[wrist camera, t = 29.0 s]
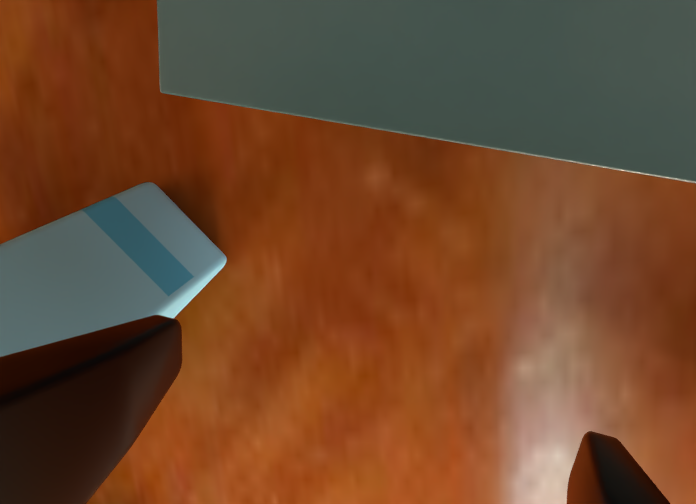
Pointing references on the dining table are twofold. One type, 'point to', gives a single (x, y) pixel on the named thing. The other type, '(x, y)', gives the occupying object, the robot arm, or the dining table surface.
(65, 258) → the data package
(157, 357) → the robot arm
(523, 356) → the dining table surface
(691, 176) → the cabinet
